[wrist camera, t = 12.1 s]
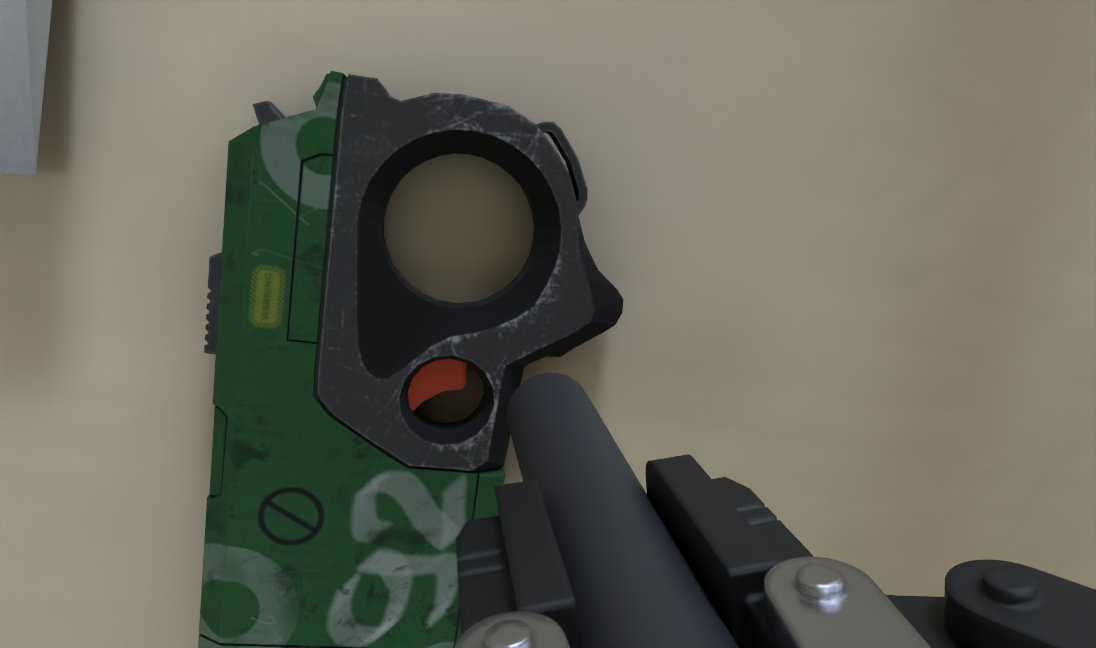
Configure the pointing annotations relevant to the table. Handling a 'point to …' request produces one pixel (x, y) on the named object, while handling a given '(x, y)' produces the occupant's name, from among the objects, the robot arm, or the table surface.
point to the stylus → (607, 527)
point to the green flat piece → (367, 369)
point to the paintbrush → (22, 81)
